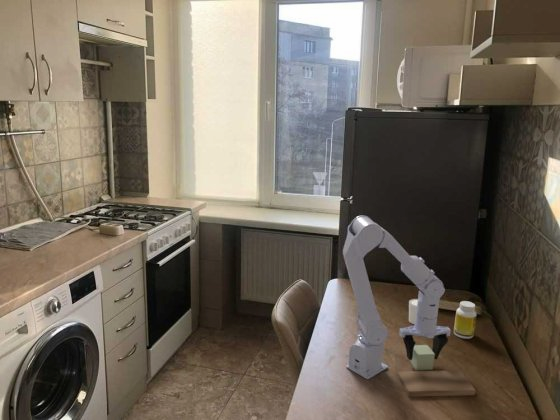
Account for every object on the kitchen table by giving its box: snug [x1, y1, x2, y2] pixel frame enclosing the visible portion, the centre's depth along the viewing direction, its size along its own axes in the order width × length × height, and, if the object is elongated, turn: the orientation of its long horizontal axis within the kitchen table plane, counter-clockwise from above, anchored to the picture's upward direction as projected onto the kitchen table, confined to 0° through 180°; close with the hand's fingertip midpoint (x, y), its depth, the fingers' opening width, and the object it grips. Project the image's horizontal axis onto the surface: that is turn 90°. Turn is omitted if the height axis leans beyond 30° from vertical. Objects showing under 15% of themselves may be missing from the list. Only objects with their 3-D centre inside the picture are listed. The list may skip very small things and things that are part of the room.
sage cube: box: [409, 344, 435, 371], centre depth 135 cm, size 5×5×5 cm
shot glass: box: [408, 298, 418, 325], centre depth 162 cm, size 7×7×7 cm
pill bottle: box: [453, 300, 477, 340], centre depth 153 cm, size 6×6×11 cm
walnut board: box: [396, 370, 476, 398], centre depth 126 cm, size 9×18×2 cm, turn 95°
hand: (421, 357), depth 135 cm, fingers open, 7 cm apart
